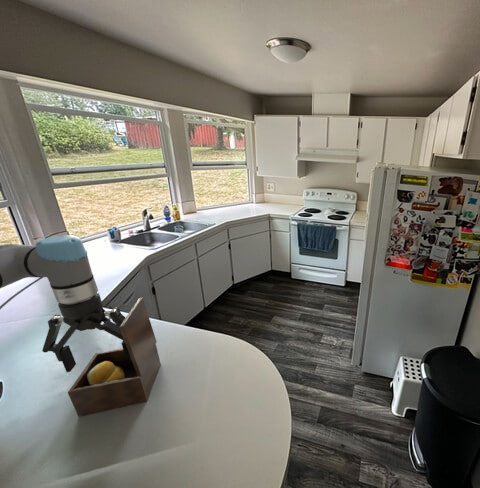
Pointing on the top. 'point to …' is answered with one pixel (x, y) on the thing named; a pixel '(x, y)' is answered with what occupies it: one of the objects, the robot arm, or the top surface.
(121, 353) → the bin
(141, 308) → the bin lid
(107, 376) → the bread roll
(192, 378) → the top surface
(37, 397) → the top surface
